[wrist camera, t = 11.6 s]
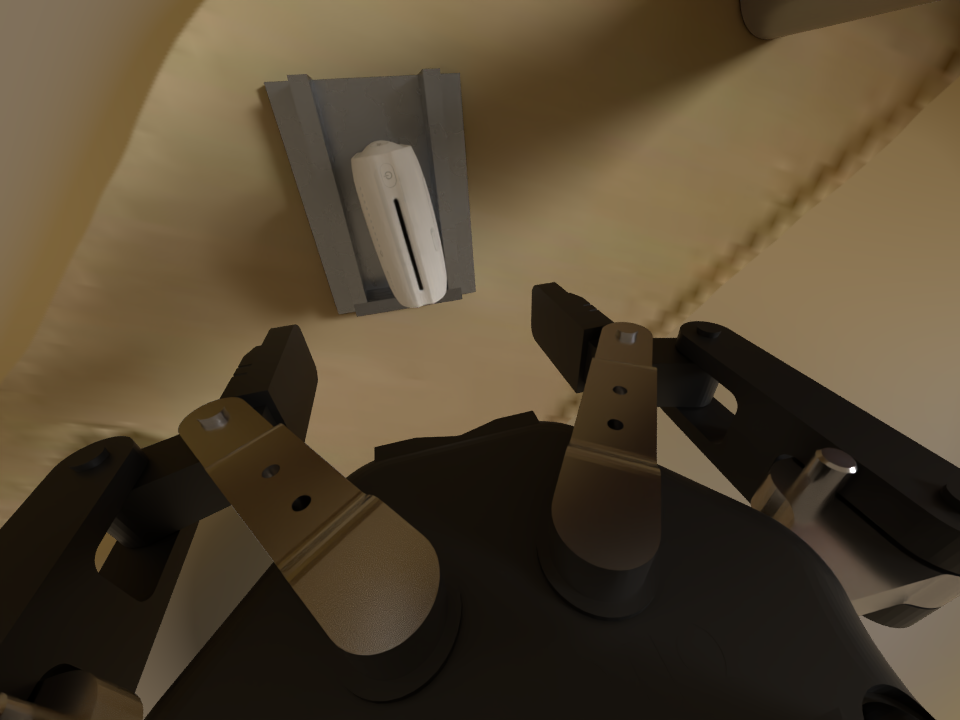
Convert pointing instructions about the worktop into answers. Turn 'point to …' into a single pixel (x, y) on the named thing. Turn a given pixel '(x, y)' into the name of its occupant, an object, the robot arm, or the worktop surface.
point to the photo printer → (401, 221)
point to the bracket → (330, 184)
